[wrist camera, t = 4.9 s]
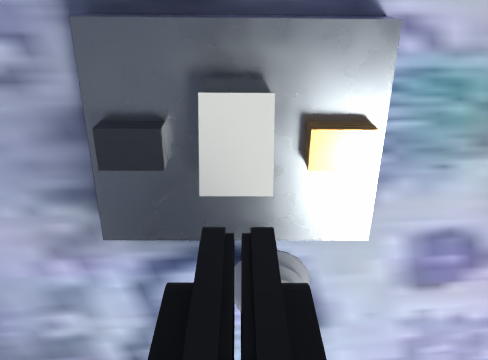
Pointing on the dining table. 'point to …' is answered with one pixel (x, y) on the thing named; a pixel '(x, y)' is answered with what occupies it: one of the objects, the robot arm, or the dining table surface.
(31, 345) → the dining table surface
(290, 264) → the chalice
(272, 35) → the panel
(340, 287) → the dining table surface
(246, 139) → the block
